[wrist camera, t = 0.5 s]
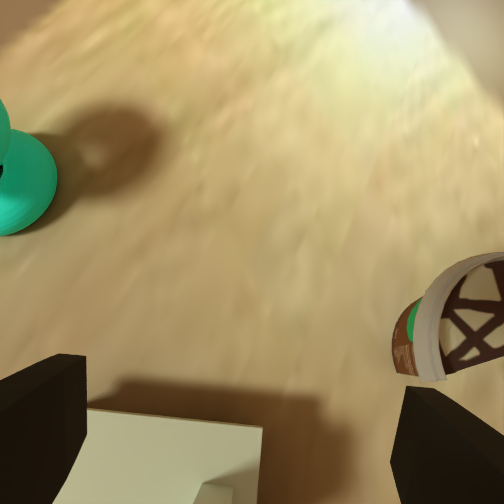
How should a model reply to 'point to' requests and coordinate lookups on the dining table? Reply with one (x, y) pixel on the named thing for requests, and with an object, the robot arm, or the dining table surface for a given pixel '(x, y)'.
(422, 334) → the food container
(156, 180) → the dining table surface
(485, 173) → the dining table surface
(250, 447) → the lid
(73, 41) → the dining table surface
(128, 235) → the dining table surface
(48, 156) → the donuts
